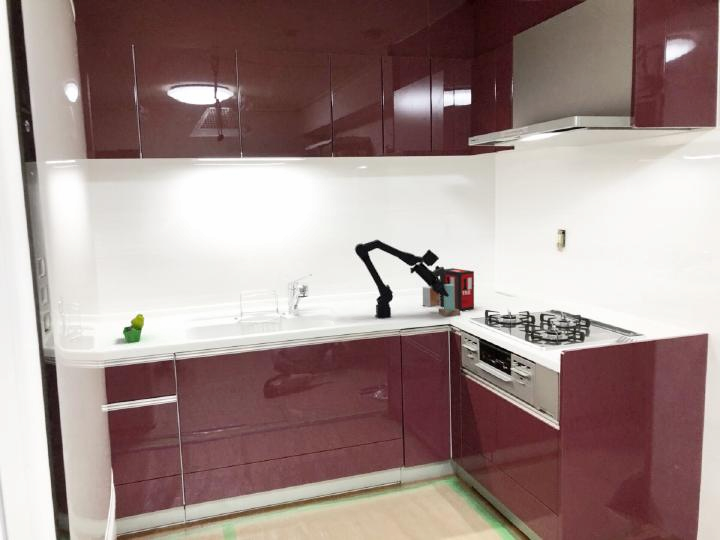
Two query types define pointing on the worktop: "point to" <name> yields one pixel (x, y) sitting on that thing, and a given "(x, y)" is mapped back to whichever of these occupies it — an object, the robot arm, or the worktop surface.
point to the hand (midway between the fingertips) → (446, 294)
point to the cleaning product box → (460, 288)
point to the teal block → (449, 298)
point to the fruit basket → (134, 329)
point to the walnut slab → (449, 312)
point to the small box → (430, 297)
